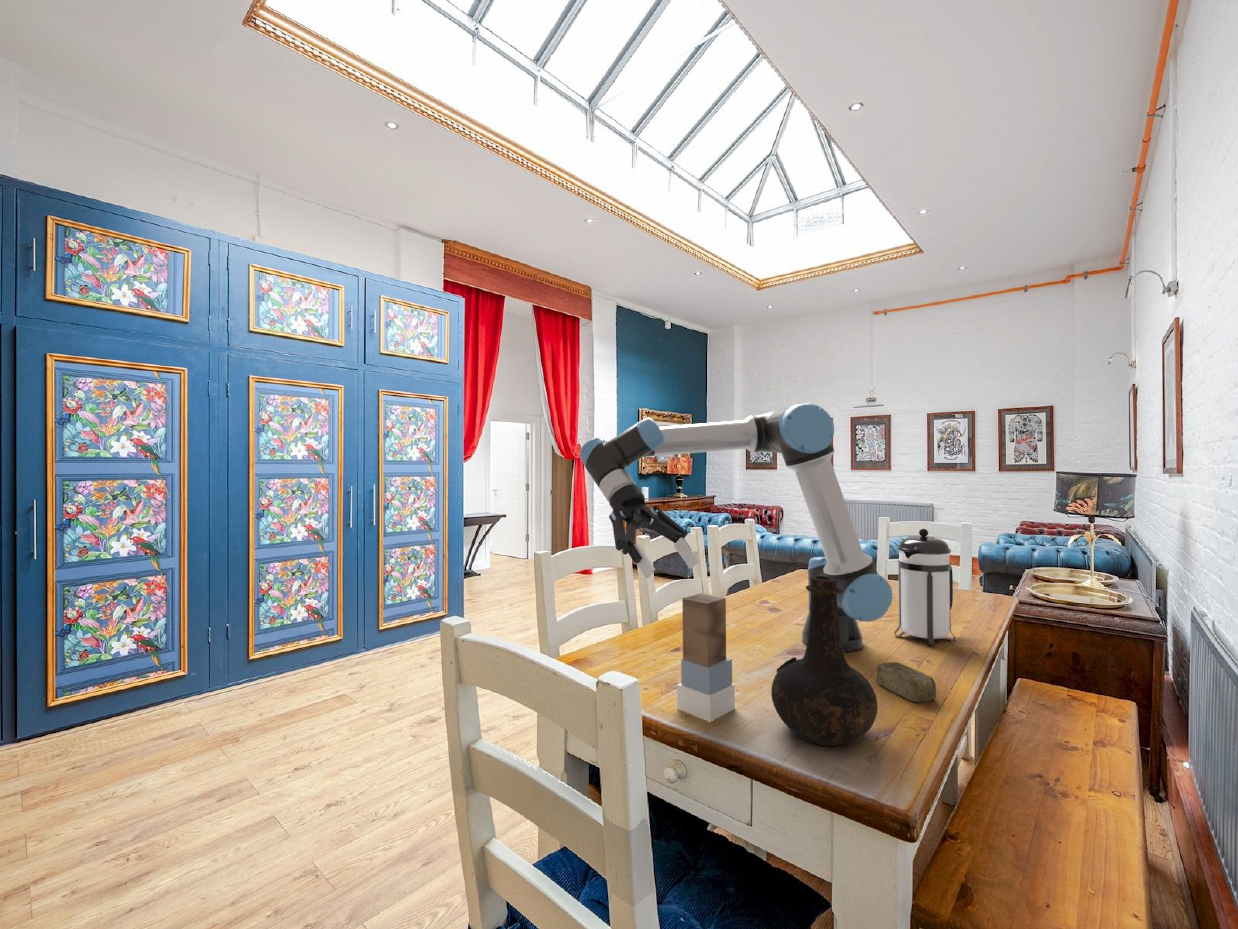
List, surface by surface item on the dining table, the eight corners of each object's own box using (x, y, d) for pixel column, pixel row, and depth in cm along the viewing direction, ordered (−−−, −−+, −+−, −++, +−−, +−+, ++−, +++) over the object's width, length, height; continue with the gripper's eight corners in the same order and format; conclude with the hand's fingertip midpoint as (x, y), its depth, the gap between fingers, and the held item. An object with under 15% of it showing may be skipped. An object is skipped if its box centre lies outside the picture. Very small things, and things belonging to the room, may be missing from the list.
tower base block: (702, 698, 116) (702, 673, 116) (734, 710, 111) (734, 684, 111) (677, 710, 111) (677, 684, 111) (710, 723, 105) (709, 696, 105)
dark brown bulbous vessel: (802, 703, 113) (801, 564, 113) (894, 734, 100) (893, 576, 100) (751, 733, 101) (750, 576, 101) (849, 772, 88) (848, 593, 88)
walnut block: (701, 652, 115) (701, 593, 115) (726, 659, 111) (725, 598, 111) (682, 659, 111) (682, 598, 111) (707, 667, 106) (707, 603, 106)
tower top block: (704, 675, 116) (704, 651, 116) (732, 685, 110) (731, 659, 110) (681, 684, 111) (681, 659, 111) (709, 695, 106) (709, 668, 106)
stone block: (915, 706, 112) (915, 681, 112) (873, 685, 123) (873, 662, 123) (938, 702, 114) (938, 677, 114) (895, 681, 125) (895, 659, 125)
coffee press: (966, 650, 144) (965, 533, 144) (897, 643, 149) (896, 530, 149) (952, 631, 160) (951, 525, 160) (890, 626, 166) (889, 524, 166)
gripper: (652, 502, 138) (701, 572, 127) (571, 508, 120) (620, 589, 110) (668, 481, 134) (720, 551, 123) (587, 484, 117) (639, 566, 106)
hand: (673, 569), depth 116 cm, fingers open, 13 cm apart
